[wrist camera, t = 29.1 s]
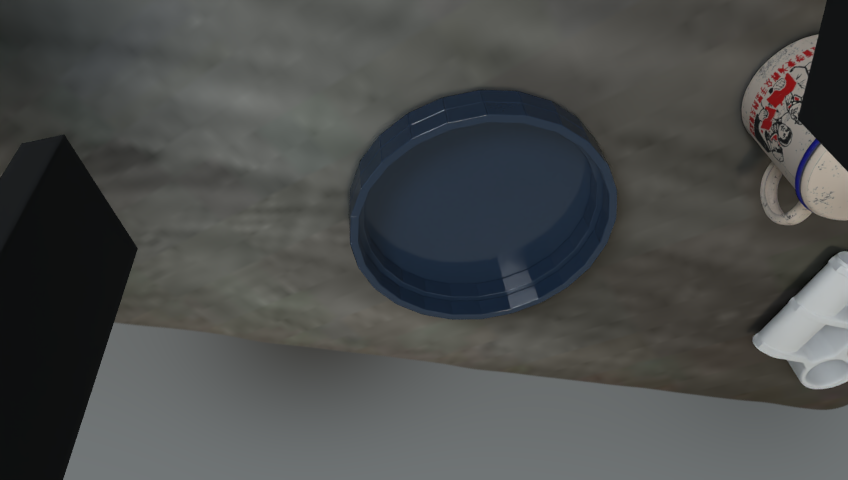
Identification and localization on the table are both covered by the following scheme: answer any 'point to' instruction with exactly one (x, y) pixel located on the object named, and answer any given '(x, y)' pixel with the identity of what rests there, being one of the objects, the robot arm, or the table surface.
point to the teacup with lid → (792, 139)
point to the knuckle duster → (814, 328)
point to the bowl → (480, 205)
